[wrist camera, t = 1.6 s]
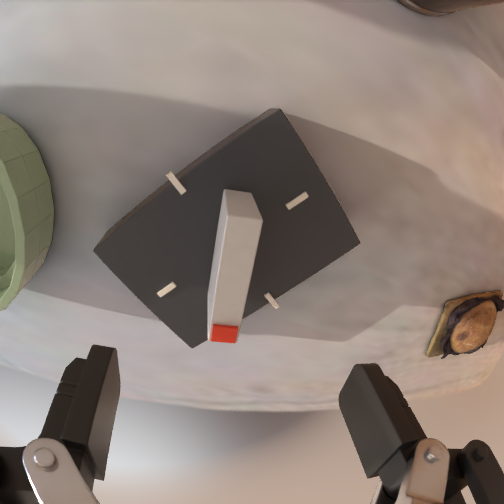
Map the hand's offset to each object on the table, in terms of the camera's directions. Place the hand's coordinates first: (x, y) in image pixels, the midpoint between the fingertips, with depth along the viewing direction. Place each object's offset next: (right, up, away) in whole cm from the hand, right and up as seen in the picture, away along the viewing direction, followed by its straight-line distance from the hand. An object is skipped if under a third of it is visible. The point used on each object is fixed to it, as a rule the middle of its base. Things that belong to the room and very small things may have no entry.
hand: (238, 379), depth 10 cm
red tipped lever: (-1, +4, +9) cm, 10 cm away
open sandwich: (+25, -4, +20) cm, 32 cm away
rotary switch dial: (-1, +6, +12) cm, 13 cm away
